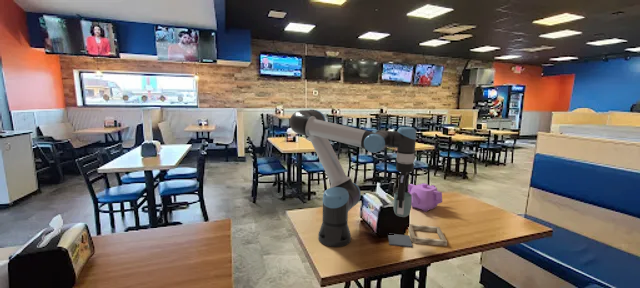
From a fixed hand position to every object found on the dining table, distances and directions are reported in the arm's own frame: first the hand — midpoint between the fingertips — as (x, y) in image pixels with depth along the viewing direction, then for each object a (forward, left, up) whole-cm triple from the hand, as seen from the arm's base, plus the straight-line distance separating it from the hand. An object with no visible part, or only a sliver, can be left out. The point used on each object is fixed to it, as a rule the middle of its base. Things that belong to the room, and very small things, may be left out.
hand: (401, 210), depth 127 cm
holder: (+13, +7, -15) cm, 21 cm away
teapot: (+18, +46, -15) cm, 52 cm away
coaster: (0, 0, -15) cm, 15 cm away
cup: (0, 0, -2) cm, 2 cm away
